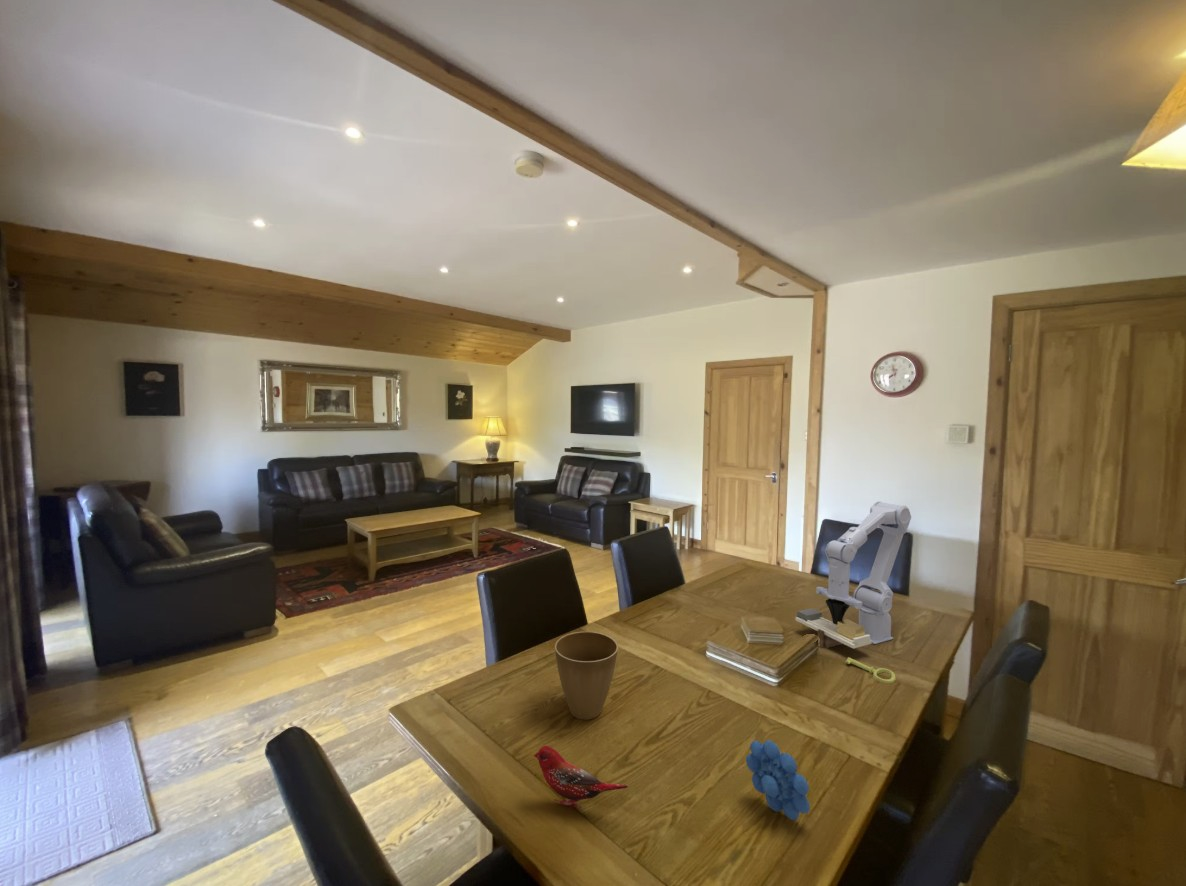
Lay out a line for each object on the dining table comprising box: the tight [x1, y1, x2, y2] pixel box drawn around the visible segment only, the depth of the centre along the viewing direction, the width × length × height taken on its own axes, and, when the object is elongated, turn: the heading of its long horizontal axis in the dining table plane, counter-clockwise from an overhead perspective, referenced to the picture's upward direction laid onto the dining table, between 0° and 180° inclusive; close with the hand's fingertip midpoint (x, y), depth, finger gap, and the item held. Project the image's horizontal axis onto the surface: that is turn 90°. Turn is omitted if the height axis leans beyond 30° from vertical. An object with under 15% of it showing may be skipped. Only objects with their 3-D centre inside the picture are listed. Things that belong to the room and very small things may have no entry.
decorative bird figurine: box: [533, 745, 629, 809], centre depth 86 cm, size 3×18×10 cm, turn 73°
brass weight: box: [837, 618, 865, 640], centre depth 146 cm, size 6×4×4 cm
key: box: [845, 657, 896, 684], centre depth 135 cm, size 7×12×2 cm, turn 58°
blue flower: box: [745, 740, 810, 821], centre depth 86 cm, size 12×7×12 cm, turn 44°
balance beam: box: [795, 607, 873, 649], centre depth 152 cm, size 21×8×3 cm, turn 25°
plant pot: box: [554, 631, 619, 720], centre depth 115 cm, size 15×15×16 cm
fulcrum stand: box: [817, 629, 844, 649], centre depth 153 cm, size 3×10×5 cm, turn 115°
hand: (837, 623), depth 151 cm, fingers closed
